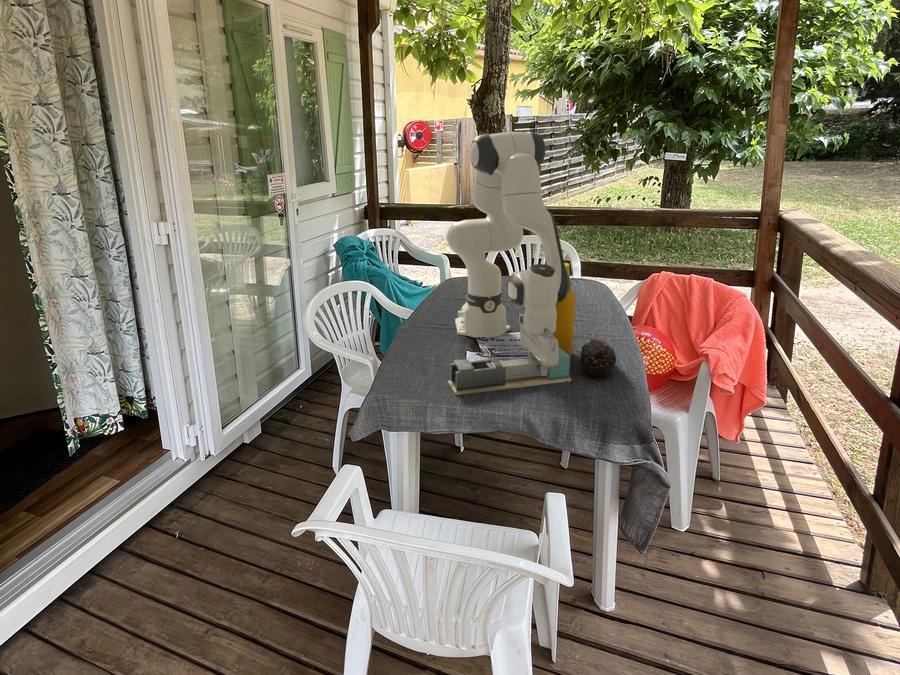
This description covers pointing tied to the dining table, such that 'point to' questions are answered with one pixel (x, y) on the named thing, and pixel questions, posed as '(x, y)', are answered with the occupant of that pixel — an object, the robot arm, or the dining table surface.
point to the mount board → (513, 384)
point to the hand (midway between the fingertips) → (538, 369)
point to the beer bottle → (565, 320)
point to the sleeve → (477, 374)
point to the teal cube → (560, 367)
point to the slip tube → (520, 367)
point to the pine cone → (597, 359)
